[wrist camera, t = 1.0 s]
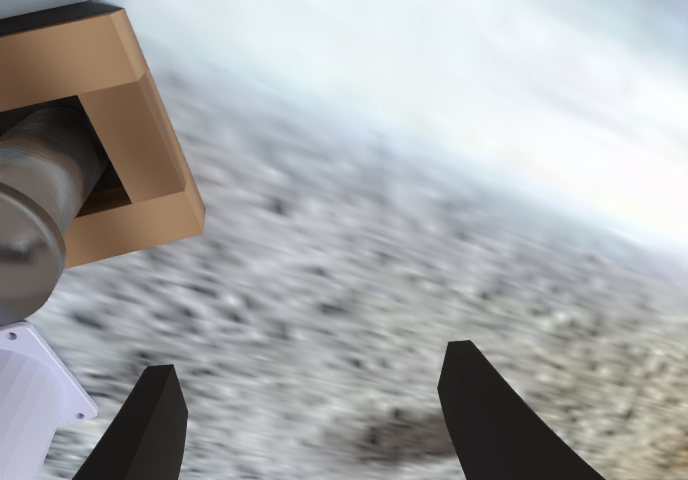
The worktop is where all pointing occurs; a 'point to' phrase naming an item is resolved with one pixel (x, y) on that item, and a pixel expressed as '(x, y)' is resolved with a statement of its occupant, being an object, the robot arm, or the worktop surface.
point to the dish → (30, 6)
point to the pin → (42, 202)
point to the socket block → (108, 131)
